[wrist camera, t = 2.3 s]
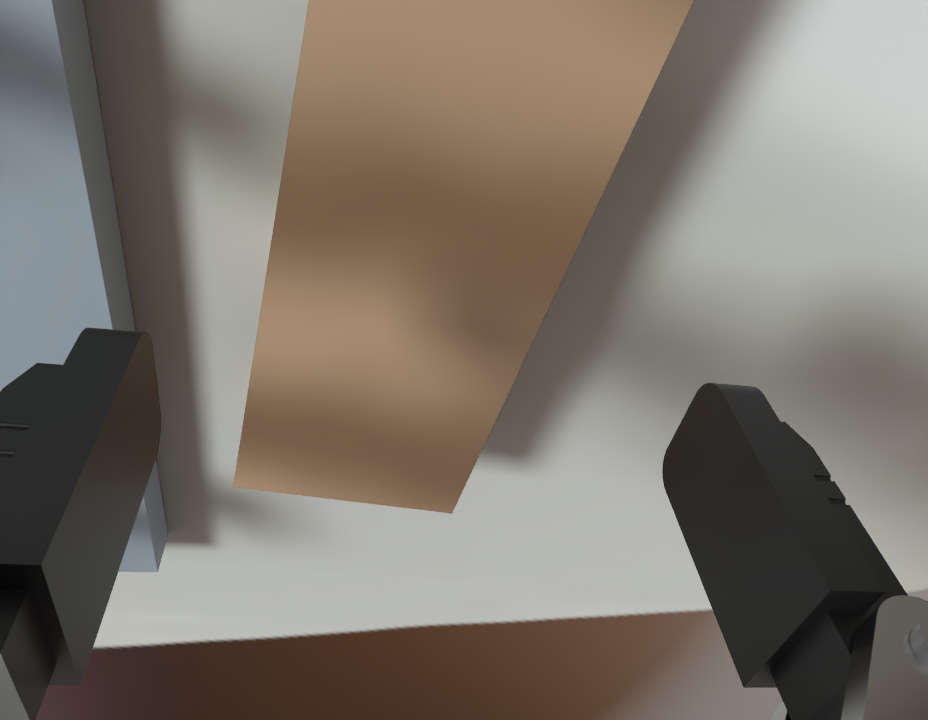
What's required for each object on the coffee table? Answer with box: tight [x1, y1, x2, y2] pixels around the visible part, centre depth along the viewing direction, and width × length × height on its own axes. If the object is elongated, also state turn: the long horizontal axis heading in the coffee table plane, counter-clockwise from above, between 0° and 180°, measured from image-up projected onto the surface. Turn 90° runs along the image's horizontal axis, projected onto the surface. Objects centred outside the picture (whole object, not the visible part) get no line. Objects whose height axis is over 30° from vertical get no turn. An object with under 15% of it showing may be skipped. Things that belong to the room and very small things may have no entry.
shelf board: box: [233, 0, 694, 513], centre depth 15 cm, size 18×6×4 cm, turn 163°
